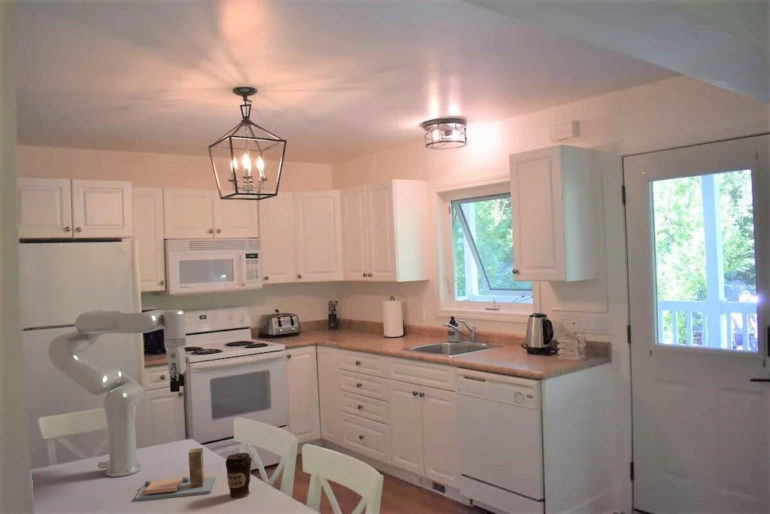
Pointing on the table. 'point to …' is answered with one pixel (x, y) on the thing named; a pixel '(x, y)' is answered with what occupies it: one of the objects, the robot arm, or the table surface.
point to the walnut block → (196, 468)
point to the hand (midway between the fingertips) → (177, 388)
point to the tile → (163, 486)
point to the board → (178, 490)
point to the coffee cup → (239, 474)
